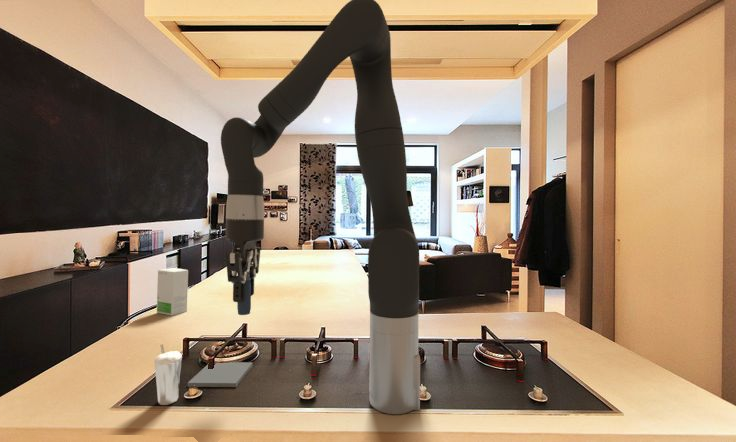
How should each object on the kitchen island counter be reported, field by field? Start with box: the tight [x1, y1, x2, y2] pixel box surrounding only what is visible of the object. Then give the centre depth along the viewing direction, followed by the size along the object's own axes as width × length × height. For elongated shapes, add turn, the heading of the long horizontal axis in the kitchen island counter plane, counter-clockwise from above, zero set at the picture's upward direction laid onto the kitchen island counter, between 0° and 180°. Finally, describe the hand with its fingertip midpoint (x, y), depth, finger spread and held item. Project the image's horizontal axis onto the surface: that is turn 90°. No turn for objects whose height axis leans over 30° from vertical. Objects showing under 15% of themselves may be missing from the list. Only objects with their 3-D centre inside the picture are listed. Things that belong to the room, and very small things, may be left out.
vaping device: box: [236, 267, 252, 316], centre depth 72 cm, size 3×5×12 cm, turn 22°
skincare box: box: [156, 267, 189, 317], centre depth 125 cm, size 8×7×16 cm
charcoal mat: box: [187, 361, 254, 388], centre depth 76 cm, size 10×10×1 cm
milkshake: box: [153, 343, 183, 406], centre depth 66 cm, size 4×5×10 cm
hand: (243, 298), depth 72 cm, fingers closed on vaping device, 5 cm apart
